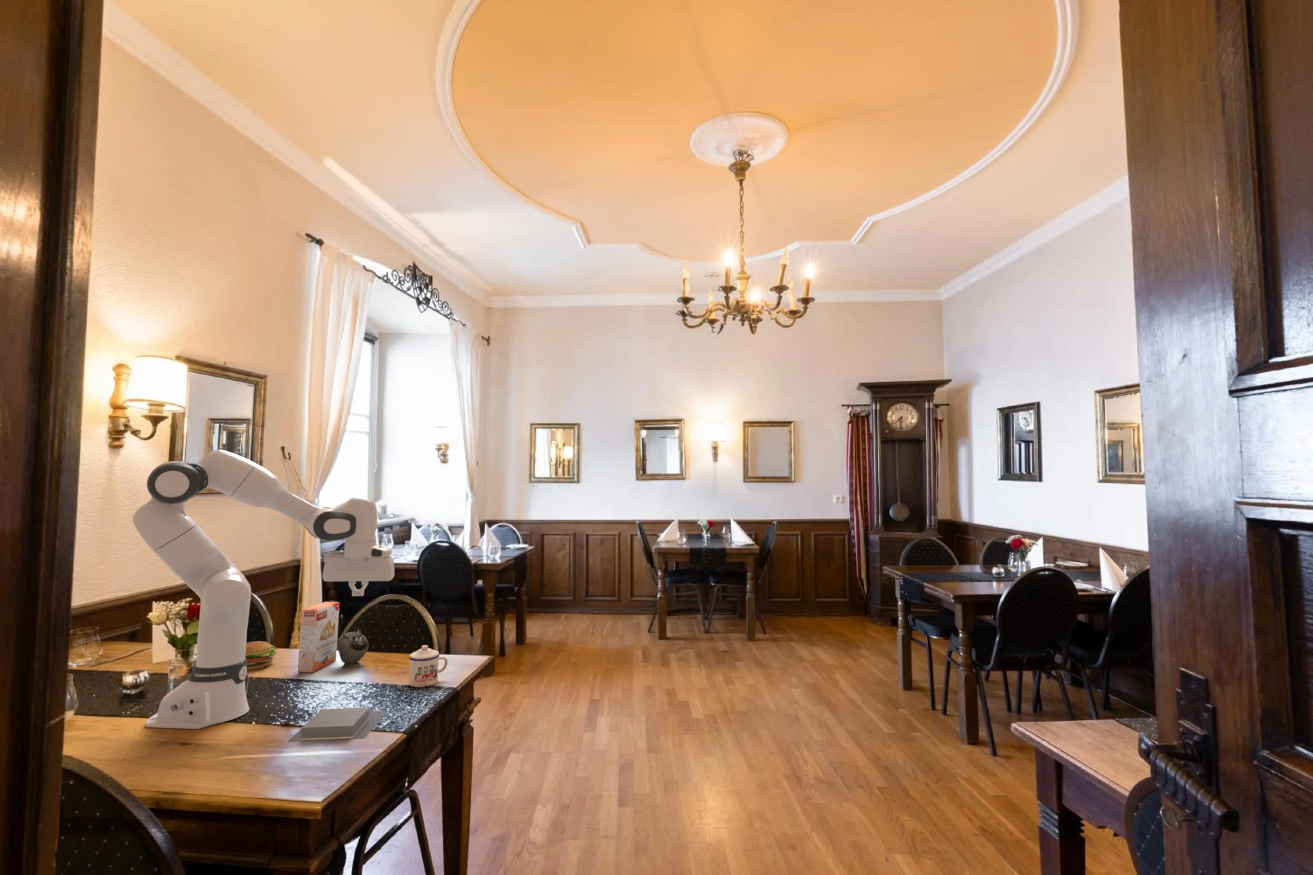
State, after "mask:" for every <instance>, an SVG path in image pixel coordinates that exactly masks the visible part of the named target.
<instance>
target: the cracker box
mask: <svg viewBox="0 0 1313 875" xmlns="http://www.w3.org/2000/svg"><path fill="white" fill-rule="evenodd" d="M339 615H340V602H338V601H324V602H320V603H317V604H314V605H312V606H309V607H306V608H303V609H301V618H300V632H299V634H300V635H299V648H298V662H297V664H298V665H297V673H304V674H305V673H308V674H309V673H312V674H313V673H315V672H317V671H319V670H321V669H323V668H325V667H327V666H328V665H331V664H333V663H334V662H336V661H337V650H338V646H337V642H338V633H339V632H338V631H339V617H340V616H339Z"/></svg>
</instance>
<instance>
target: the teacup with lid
mask: <svg viewBox="0 0 1313 875" xmlns="http://www.w3.org/2000/svg"><path fill="white" fill-rule="evenodd" d="M408 659H409V668H408V670H409V672H408V673H409V674H408V675H409V676H408V685H409V686H411V687H413V686H414V687H413V688H426V687H425V686H427V687H430V685H431V686H433V685H435V684H437V683H438V681H439V674H441V673H443V672H444V671H445V670H446V668H448V662H449V661H448V659H447V658H446V656H440V652H439V651H438V650H435V649H432V648H429V646H428V645H426V644H425V645H421V648H420V649H418V650H416V651H413V652H412V653H411V654H409V658H408ZM439 660H444V665H443V667H441V669H439Z"/></svg>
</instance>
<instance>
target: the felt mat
mask: <svg viewBox="0 0 1313 875" xmlns="http://www.w3.org/2000/svg"><path fill="white" fill-rule="evenodd" d="M386 713H387V710H371V711H370V710H369V719H368V720H367V722H366V723H365V724H364V725H363V726H362V727H361V729H360V730H359V731H358V732H357V733H356V734H355V736H354V737H353V738H344V739H343V740H357V739H358V740H359V739H360V740H361V739H366V737H367V736H368V735H369V733H370V732H372V730H373V728H374V727H375V726H376V725H377V724H378V723H379V721H380V720H381V719H382V718H383V716H384V715H385V714H386ZM335 740H338V741H339V740H342V739H321V740H301V728H300V729H299V731H297V732H296V733H295V734H294V735H292V736H291V738H289V739H288V740H287V741H286V742H287V743H291V742H292V743H293V742H295V743H296V742H312V741H313V742H314V741H335Z"/></svg>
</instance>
